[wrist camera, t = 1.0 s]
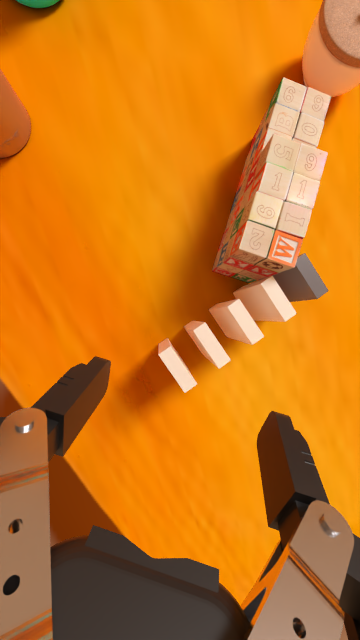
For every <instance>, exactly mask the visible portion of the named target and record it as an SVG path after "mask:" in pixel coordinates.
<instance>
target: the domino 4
mask: <svg viewBox="0 0 360 640" xmlns="http://www.w3.org/2000/svg"><path fill="white" fill-rule="evenodd" d="M233 295H234V296H235V298H236V299H240V300H241V302H242V303H243V305H244V307H245V308H246V310H247V311H248V313H249V314H250V316H251V317H252V319H253V320H257V321H284V322H285V321H287V320H288V319H290V318H291V317H292V316H294V315H295V314H297V313H296V311H295V310H294V308H293V307H292V305H291V304H290V302H289V301H288V299H287V297H286V296H285V294H284V293H283V291H282V290H281V288H280V287H279V285H278V283H277V282H276V280H275V279H274V277H273V276H270V277H267V278H265V279H262V280H259V281H256V282H254V283H251V284H248V285H245V286H243V287H240V288H239V289H237V290H236V291H235V292H233Z"/></svg>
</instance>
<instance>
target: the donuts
mask: <svg viewBox="0 0 360 640" xmlns="http://www.w3.org/2000/svg"><path fill="white" fill-rule="evenodd" d="M16 1H18V2H19V3H21V4H23V5H26V6H29V7H33V8H45V7H49V6H52V5H54V4H55V3H57V2H58V1H59V0H16Z"/></svg>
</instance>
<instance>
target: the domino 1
mask: <svg viewBox="0 0 360 640" xmlns="http://www.w3.org/2000/svg"><path fill="white" fill-rule="evenodd" d="M158 355H159V356H160V358H161V359H162V361H163V362H164V364H165V365H166V367H167V368H168V369H169V371H170V372H171V374H172V375H173V377H174V378H175V379H176V381H177V382H178V384H179V385H180V387H181V388H182V390H183V391H184V392H185V393H186V392H187V391H188V390H190V389H191V388H193V387H194V386H195V385H197V383H196V381H195V380H194V378H193V376H192V374H191V373H190V371H189V369H188V367H187V366H186V364H185V363H184V361H183V360H182V358H181V357H180V355H179V354H178V352H177V351H176V350H175V348H174V347H173V345H172V344H171V342H170V341H169V339H168V338H166V339H165V340H163V341H162V342H161V343H159V344H158Z"/></svg>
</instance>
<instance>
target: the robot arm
mask: <svg viewBox="0 0 360 640" xmlns="http://www.w3.org/2000/svg"><path fill="white" fill-rule="evenodd" d="M30 132H31V122H30V118H29V115H28V113H27V110H26V109H25V107H24V106H23V104H22V102H21V101H20V99H19V98H18V96H17V95H16V93H15V91H14V90H13V88H12V87H11V85H10V84H9V82H8V80H7V79H6V77H5V76H4V74H3V72H2V71H1V69H0V158H5V157H9V156H12V155H14V154H16V153H17V152H19V151H20V150H21V149H22V148H23V147H24V146H25V144H26V143H27V141H28V139H29V136H30ZM110 365H111V362H110V361H109V360H106V359H103V358H99V357H96V356H95V357H94V358H93V359H92V360H91V361H90V362H89V363H88V364H87V365H85V364H82V363H81V364H79V365H76V366H74V367H72V368H71V369H70V370H69V371H68V372H67V373H66V374H64V376H63V377H61V378H60V379H59V380H58V381H57V383H55V384H54V385H53V386H52V387H51V388H50V389H49V390H48V391H47V392H46V393H45V394H44V395H43V396H42V397H41V398H40V399H39V400H38V401H37V402H36V403H35V404H34V405H33V406H32V407H31V408H25V409H21V410H18V411H16V412H14V413H12V414H10V415H9V416H8V417H0V640H340V636H341V632H342V628H343V623H344V624H345V628H346V632H347V636H348V640H360V538H359V537H357V536H356V535H354V534H353V533H352V531H351V528H350V526H349V525H348V523H347V521H346V520H345V519H344V517H343V516H342V515H341V514H340V513H339V512H338V511H337V510H336V509H335V508H334V507H332V506H331V505H330V504H329V501H328V498H327V496H326V493H325V490H324V488H323V485H322V482H321V479H320V477H319V474H318V471H317V468H316V466H315V465H314V464H315V463H314V460H313V457H312V456H311V452H310V449H309V446H308V444H307V442H306V440H305V439H304V437H303V436H302V435H301V433H300V432H299V431H297V430H294V427H293V424H292V421H291V418H290V417H289V416H287V415H284V414H281V413H277V412H274V411H271V412H270V414H269V415H268V417H267V419H266V421H265V423H264V425H263V426H262V428H261V430H260V432H259V434H258V438H257V450H258V457H259V464H260V471H261V478H262V486H263V493H264V500H265V507H266V514H267V521H268V527H270V528H273V529H276V530H279V532H280V538H281V539H280V540H279V542H278V543H277V545H276V547H275V548H274V550H273V552H272V554H271V556H270V557H269V559H268V561H267V563H266V565H265V567H264V568H263V570H262V572H261V574H260V576H259V577H258V579H257V581H256V583H255V585H254V586H253V588H252V589H251V591H250V592H249V594H248V595H247V597H246V598H245V600H244V601H243V603H242V604H241V606H240V605H239V604H238V602H237V601H236V599H235V598H234V597H233V596H232V595H231V593H230V592H229V591H228V590H227V589H226V588H225V587H224V586H223V585H222V584H220V583H219V569H216V568H214V567H211V566H208V565H205V564H202V563H199V562H197V561H194V560H191V559H188V558H165V559H155V558H152V557H150V556H149V555H147V554H146V553H145V552H143V551H142V550H141V549H140V548H138V547H137V546H136V545H135V544H133V543H132V542H131V541H129V540H128V539H127V538H126V537H124V536H123V535H120V534H117V533H114V532H111V531H108V530H105V529H102V528H100V527H97V526H94V525H93V527H92V529H91V532H90V534H89V536H78V537H73V538H70V539H66V540H64V541H62V542H60V543H57V544H55V545H54V546H52V547H50V517H49V483H48V481H49V478H48V462H49V461H50V460H51V458H52V457H53V456H54V454H56V455H59V456H62V457H63V456H64V455H65V453H66V452H67V450H68V449H69V447H70V446H71V444H72V443H73V441H74V440H75V438H76V437H77V435H78V434H79V432H80V431H81V429H82V428H83V426H84V425H85V423H86V422H87V420H88V419H89V417H90V416H91V414H92V413H93V411H94V410H95V408H96V407H97V406H98V404H99V403H100V401H101V400H102V398H103V397H104V395H105V393H106V390H107V387H108V381H109V373H110Z"/></svg>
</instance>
